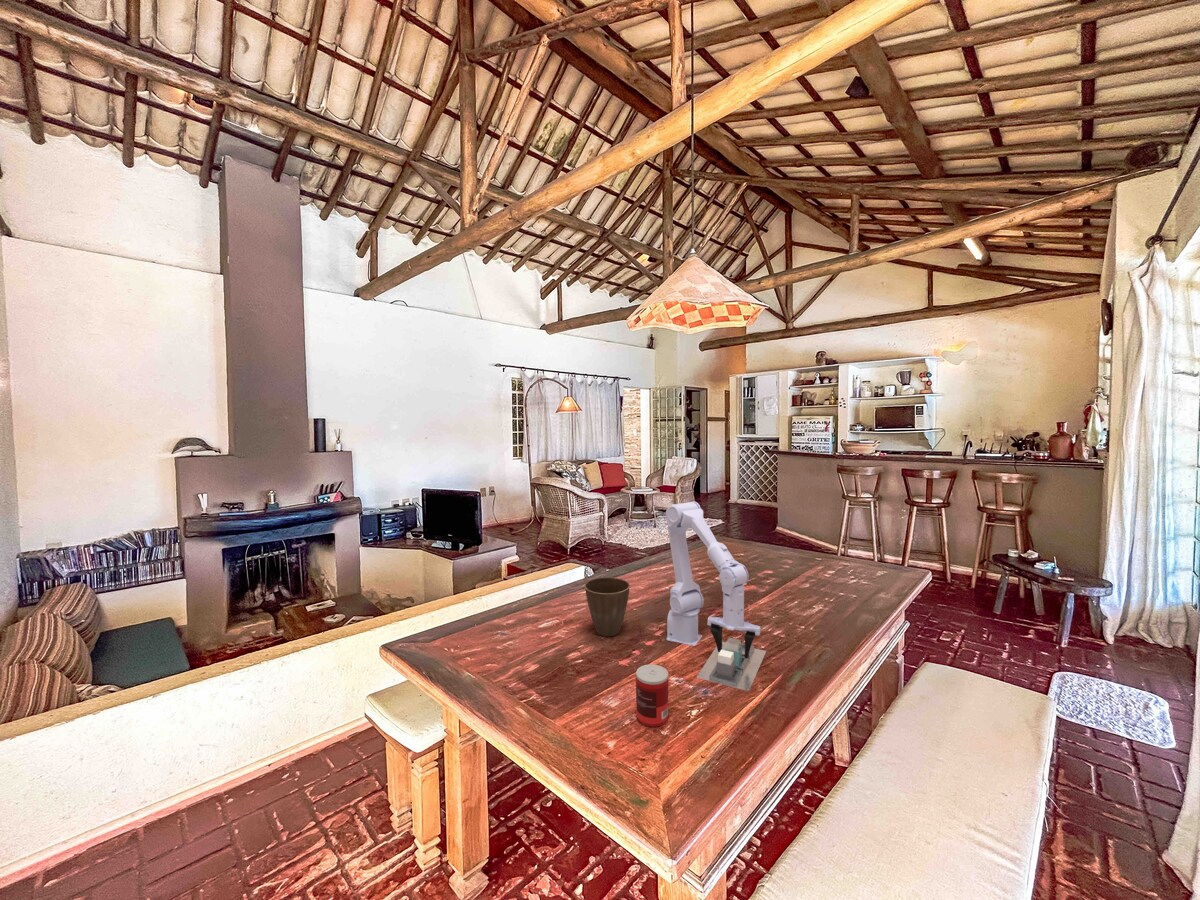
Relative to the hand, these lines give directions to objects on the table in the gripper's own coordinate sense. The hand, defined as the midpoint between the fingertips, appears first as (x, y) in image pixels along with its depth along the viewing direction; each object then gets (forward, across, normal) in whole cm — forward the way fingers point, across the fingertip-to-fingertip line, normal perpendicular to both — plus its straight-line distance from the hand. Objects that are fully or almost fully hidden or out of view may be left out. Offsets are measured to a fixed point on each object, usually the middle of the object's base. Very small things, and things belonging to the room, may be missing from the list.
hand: (733, 653), depth 137 cm
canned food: (+4, -11, -33) cm, 35 cm away
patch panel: (+3, 0, 0) cm, 3 cm away
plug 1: (+3, 0, 0) cm, 3 cm away
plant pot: (+4, -42, +2) cm, 42 cm away
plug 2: (+3, 0, -8) cm, 9 cm away
